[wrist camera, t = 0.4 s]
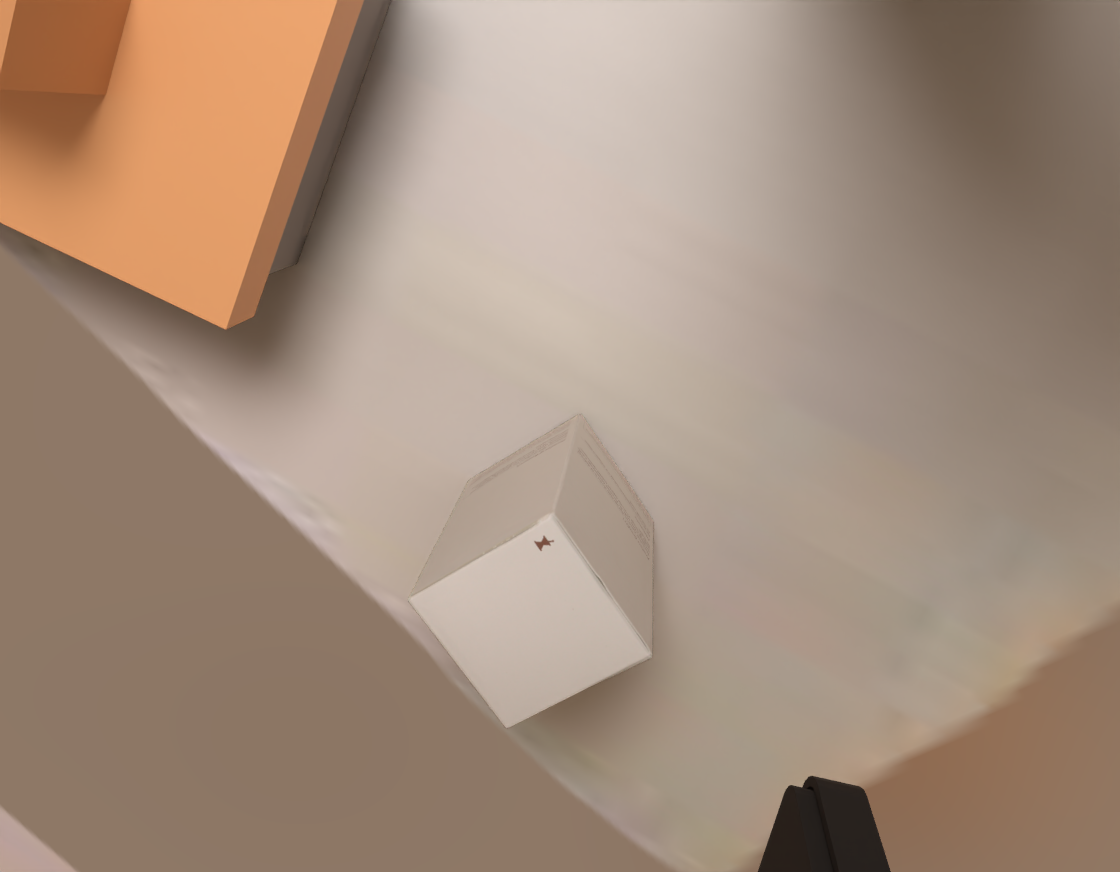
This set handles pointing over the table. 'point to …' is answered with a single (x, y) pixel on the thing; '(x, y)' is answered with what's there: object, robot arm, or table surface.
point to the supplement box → (542, 575)
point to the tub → (330, 132)
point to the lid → (165, 135)
